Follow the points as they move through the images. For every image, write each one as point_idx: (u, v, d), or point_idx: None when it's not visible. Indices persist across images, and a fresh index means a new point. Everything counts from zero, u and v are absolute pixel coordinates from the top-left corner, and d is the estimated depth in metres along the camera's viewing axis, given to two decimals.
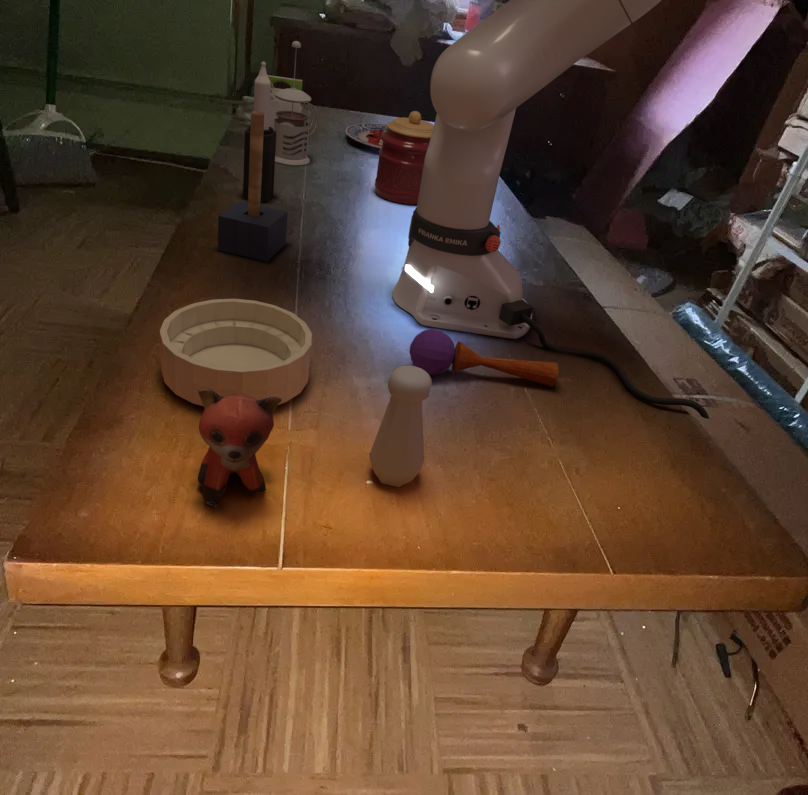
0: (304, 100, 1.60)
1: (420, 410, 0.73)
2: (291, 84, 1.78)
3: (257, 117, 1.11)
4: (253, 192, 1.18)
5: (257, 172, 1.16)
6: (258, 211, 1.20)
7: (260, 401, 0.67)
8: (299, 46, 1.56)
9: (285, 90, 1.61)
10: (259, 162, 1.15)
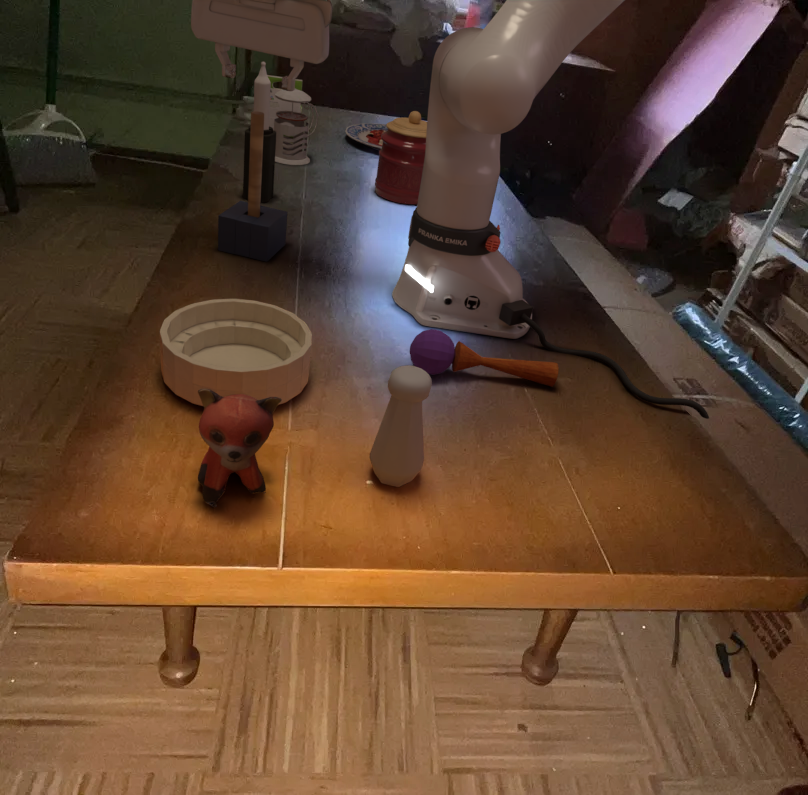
0: (304, 100, 1.60)
1: (420, 410, 0.73)
2: None
3: (258, 117, 1.11)
4: (253, 192, 1.18)
5: (257, 172, 1.16)
6: (258, 211, 1.20)
7: (260, 401, 0.67)
8: None
9: (285, 90, 1.61)
10: (259, 162, 1.15)
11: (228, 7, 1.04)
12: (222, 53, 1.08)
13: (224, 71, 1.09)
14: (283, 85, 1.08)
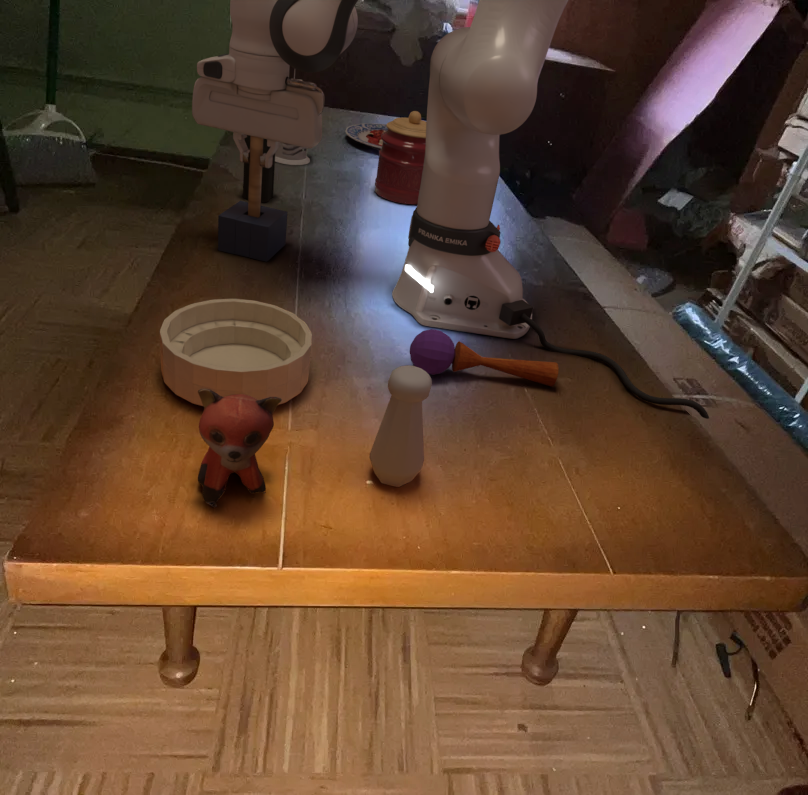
0: None
1: (420, 410, 0.73)
2: None
3: None
4: (253, 192, 1.18)
5: (257, 172, 1.16)
6: (258, 211, 1.20)
7: (260, 401, 0.67)
8: None
9: None
10: (259, 162, 1.15)
11: (227, 97, 1.10)
12: (240, 141, 1.14)
13: (242, 157, 1.15)
14: (261, 162, 1.15)
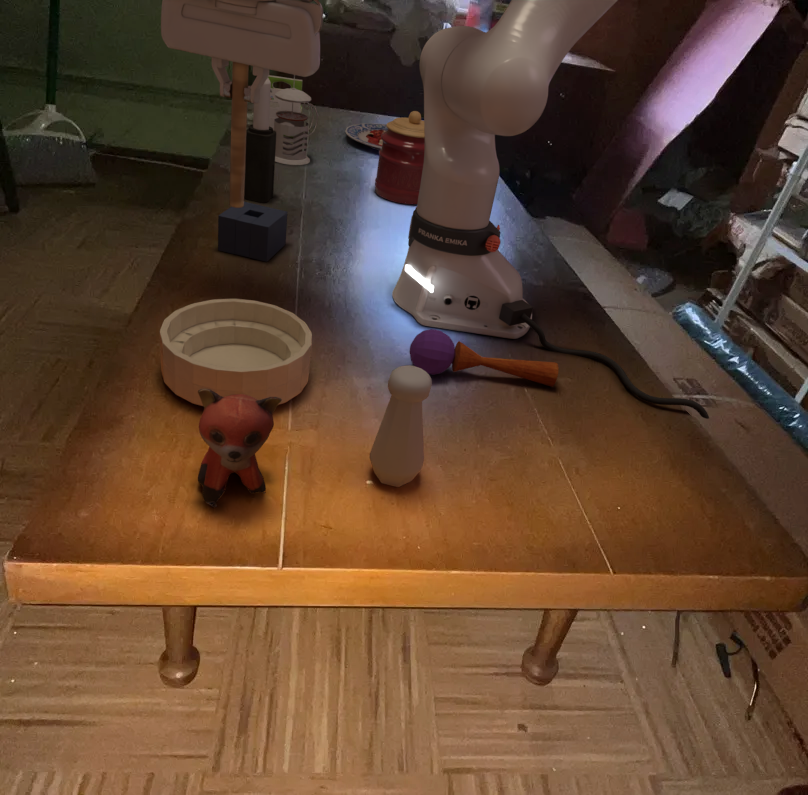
0: (304, 100, 1.60)
1: (420, 410, 0.73)
2: (291, 84, 1.78)
3: None
4: (236, 135, 0.97)
5: (241, 110, 0.95)
6: (243, 160, 0.99)
7: (260, 401, 0.67)
8: None
9: (285, 90, 1.61)
10: (243, 98, 0.94)
11: (203, 12, 0.89)
12: (220, 69, 0.93)
13: (222, 90, 0.94)
14: (246, 96, 0.94)
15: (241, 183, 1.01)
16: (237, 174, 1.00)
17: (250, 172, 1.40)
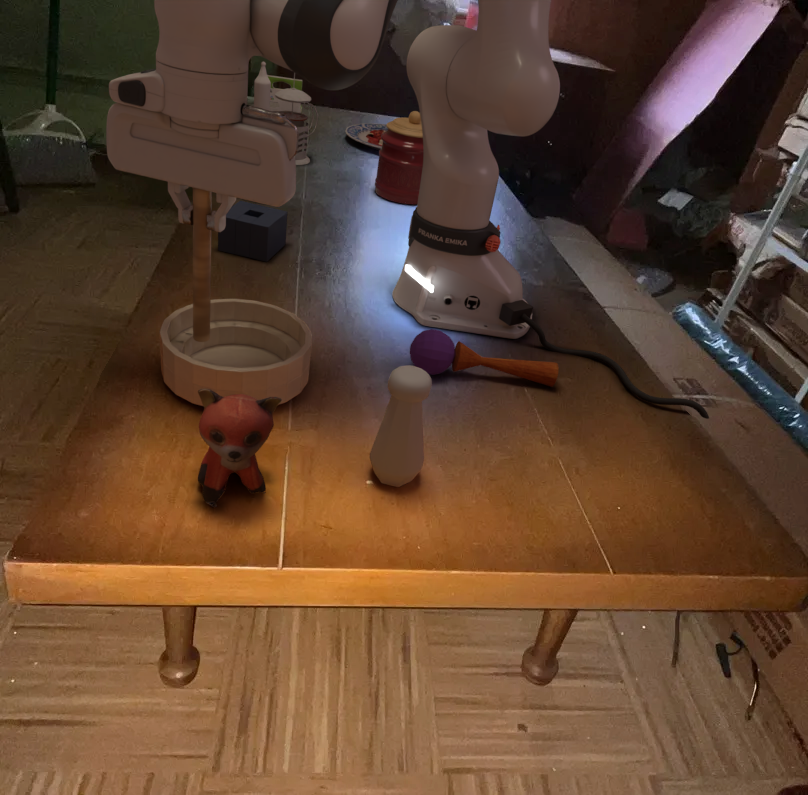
0: (304, 100, 1.60)
1: (420, 410, 0.73)
2: (291, 84, 1.78)
3: None
4: (199, 266, 0.83)
5: (203, 239, 0.81)
6: (207, 291, 0.85)
7: (260, 401, 0.67)
8: None
9: (285, 90, 1.61)
10: (206, 225, 0.80)
11: (156, 133, 0.75)
12: (178, 194, 0.79)
13: (181, 217, 0.80)
14: (209, 225, 0.80)
15: (206, 316, 0.86)
16: (201, 307, 0.85)
17: None
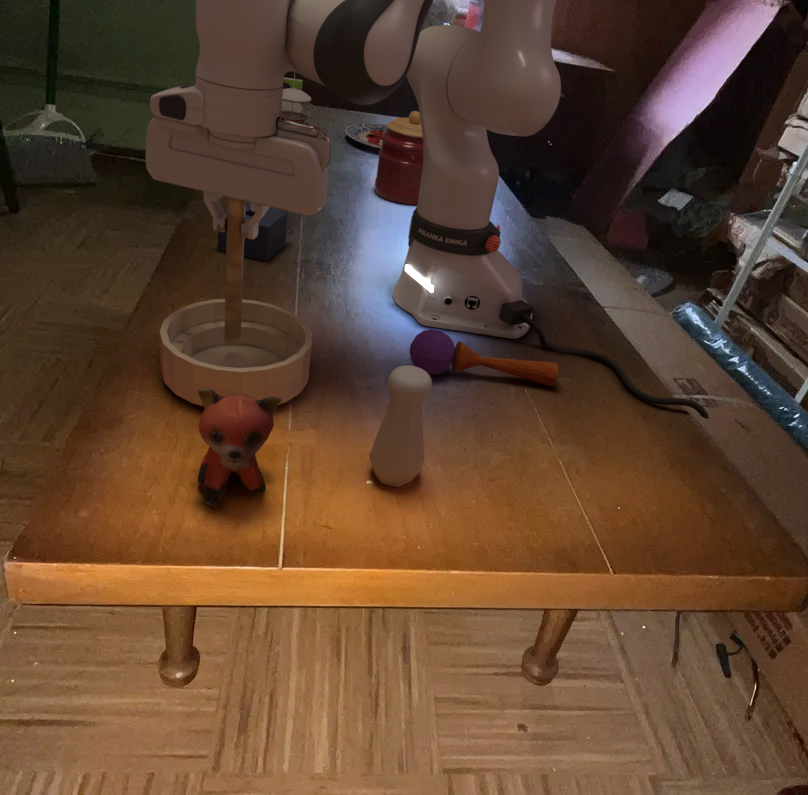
0: (304, 100, 1.60)
1: (420, 410, 0.73)
2: (291, 84, 1.78)
3: None
4: (232, 272, 0.86)
5: (237, 246, 0.84)
6: (239, 296, 0.88)
7: (260, 401, 0.67)
8: None
9: (285, 90, 1.61)
10: None
11: (194, 145, 0.78)
12: (213, 203, 0.82)
13: (216, 225, 0.83)
14: (242, 232, 0.83)
15: (237, 319, 0.90)
16: (233, 311, 0.89)
17: None
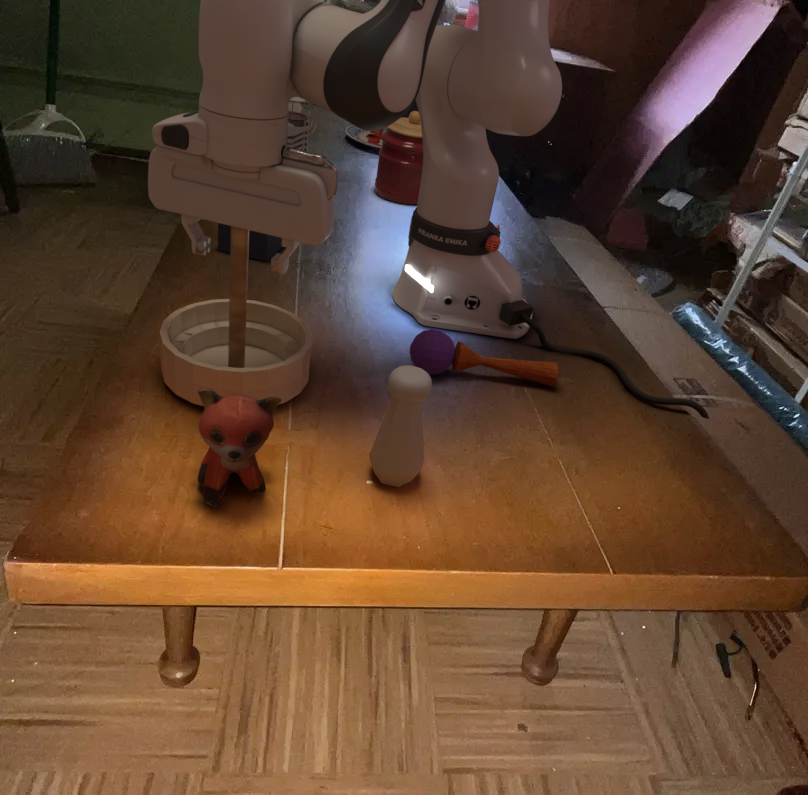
0: (304, 100, 1.60)
1: (420, 410, 0.73)
2: None
3: None
4: (236, 302, 0.84)
5: (241, 277, 0.82)
6: (243, 326, 0.86)
7: (260, 401, 0.67)
8: None
9: None
10: (243, 263, 0.82)
11: (197, 174, 0.77)
12: (191, 226, 0.81)
13: (194, 248, 0.82)
14: (273, 267, 0.81)
15: (241, 350, 0.88)
16: (237, 341, 0.87)
17: None
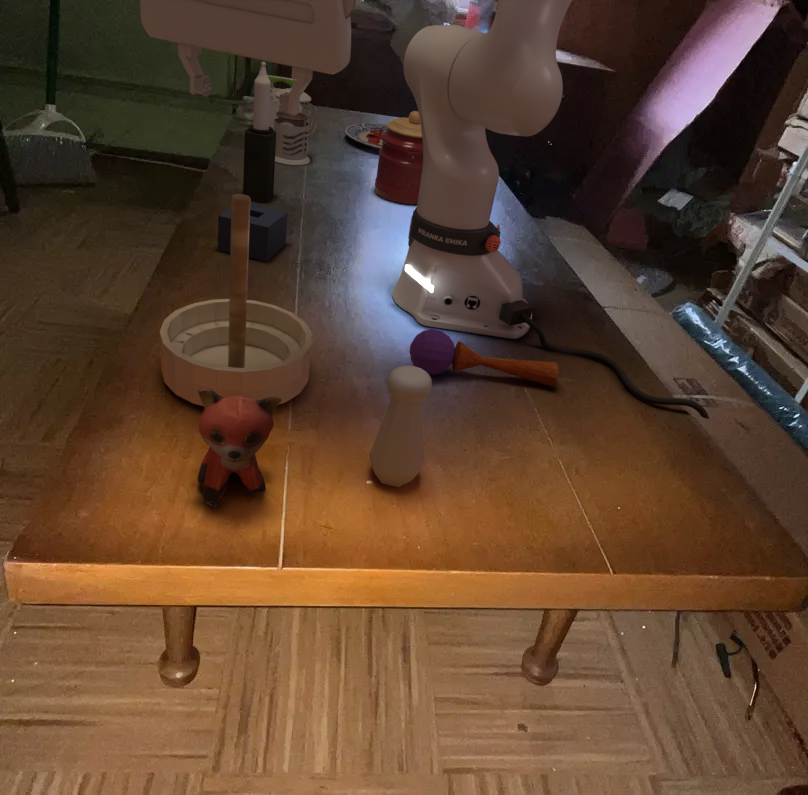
0: (304, 100, 1.60)
1: (420, 410, 0.73)
2: (291, 84, 1.78)
3: (241, 204, 0.78)
4: (236, 302, 0.84)
5: (241, 277, 0.82)
6: (243, 326, 0.86)
7: (260, 401, 0.67)
8: None
9: (285, 90, 1.61)
10: (243, 263, 0.82)
11: None
12: (189, 59, 0.72)
13: (193, 86, 0.73)
14: (281, 107, 0.72)
15: (241, 350, 0.88)
16: (237, 341, 0.87)
17: (250, 172, 1.40)
